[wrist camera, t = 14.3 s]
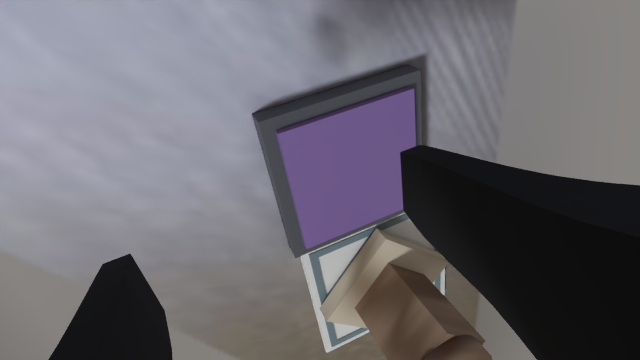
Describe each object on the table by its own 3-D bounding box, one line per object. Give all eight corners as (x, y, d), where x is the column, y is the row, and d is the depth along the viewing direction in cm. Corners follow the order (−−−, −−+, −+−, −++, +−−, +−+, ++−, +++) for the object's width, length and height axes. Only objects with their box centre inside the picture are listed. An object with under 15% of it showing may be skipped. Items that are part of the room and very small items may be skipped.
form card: (443, 188, 27) (447, 191, 27) (442, 292, 33) (445, 295, 33) (298, 248, 25) (300, 252, 24) (325, 349, 31) (327, 354, 31)
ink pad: (407, 64, 22) (425, 71, 20) (412, 195, 27) (427, 207, 25) (251, 113, 19) (260, 125, 18) (289, 246, 24) (297, 262, 23)
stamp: (374, 225, 26) (464, 326, 19) (435, 250, 30) (529, 340, 23) (317, 305, 27) (383, 425, 21) (383, 318, 31) (456, 422, 25)
